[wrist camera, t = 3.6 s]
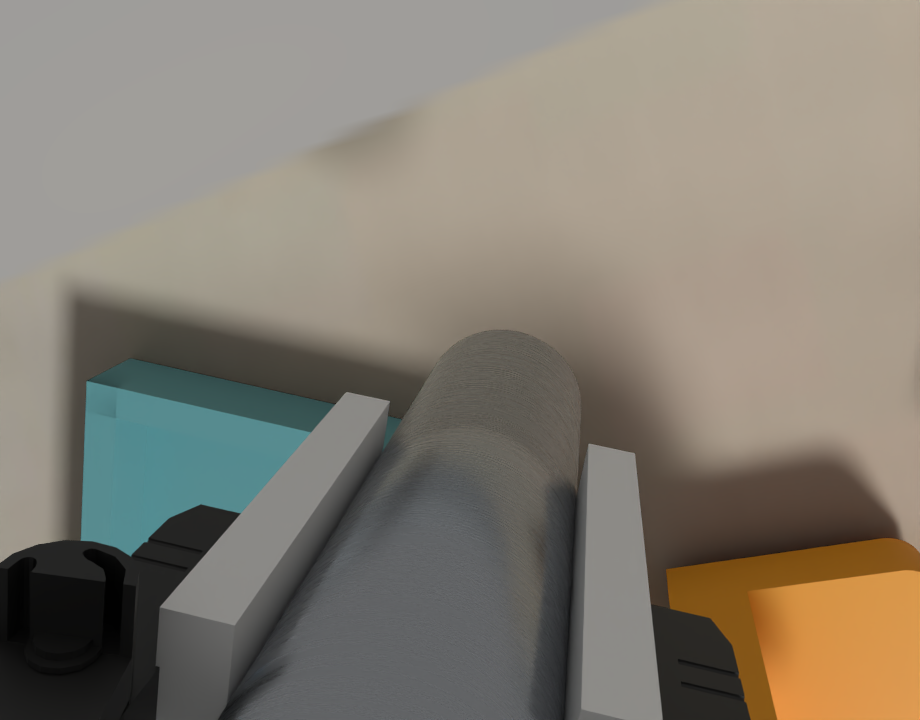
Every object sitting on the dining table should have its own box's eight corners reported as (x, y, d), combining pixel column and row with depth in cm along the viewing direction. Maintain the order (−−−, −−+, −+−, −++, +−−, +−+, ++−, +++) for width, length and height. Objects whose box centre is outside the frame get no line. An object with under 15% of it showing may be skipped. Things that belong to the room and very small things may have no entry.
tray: (112, 704, 33) (73, 751, 31) (130, 358, 29) (86, 381, 26) (498, 811, 31) (488, 869, 29) (579, 459, 27) (574, 493, 25)
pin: (414, 459, 20) (36, 1200, 6) (438, 315, 19) (47, 843, 5) (563, 492, 19) (490, 1343, 6) (596, 347, 18) (593, 992, 5)
